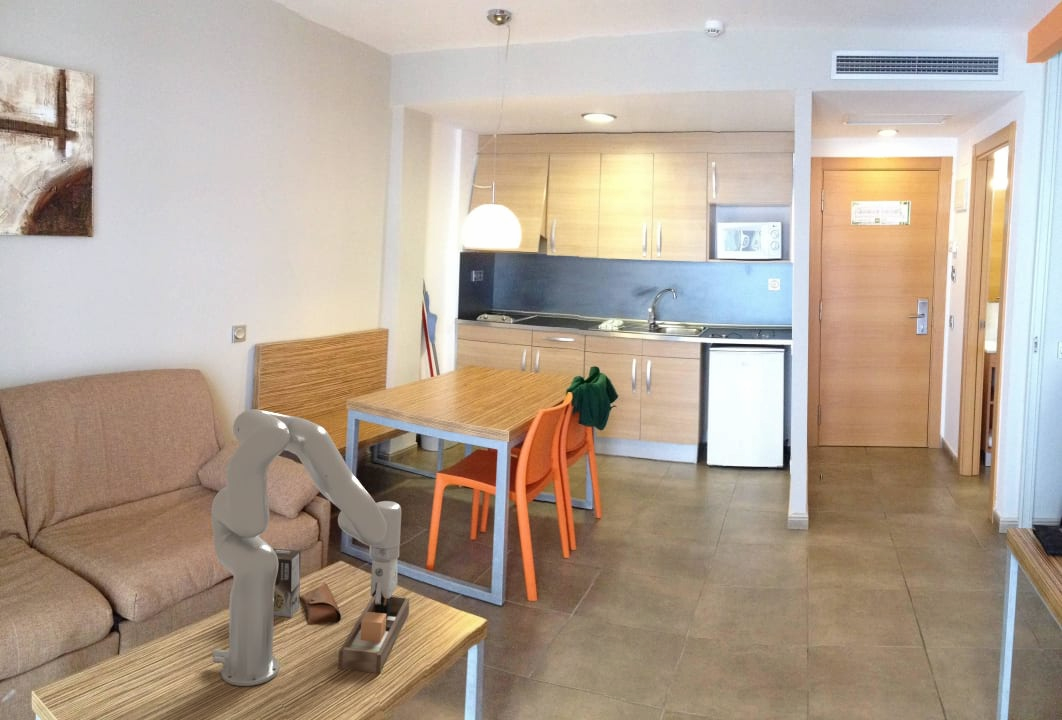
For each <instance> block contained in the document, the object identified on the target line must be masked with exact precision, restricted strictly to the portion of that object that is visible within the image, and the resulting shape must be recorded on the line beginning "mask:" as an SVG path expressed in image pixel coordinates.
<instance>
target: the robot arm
mask: <svg viewBox="0 0 1062 720" xmlns="http://www.w3.org/2000/svg"><path fill="white" fill-rule="evenodd" d="M232 426H233V427H232V431H233V435H234V436H235V439H236V440H237V441H238V442H239V443H240V445H239V446H238V447H237V449H236V450H235V451H234V453H233V454H232V456H231V457H230V459H229V460H228V464H227V466H226V472H225V483H226V485H225V487H223V488H222V489H220V490H219V491H218V492H217V494H216V495H215V497H214V498H213V501H212V505H211V511H210V512H211V525H212V535H213V536H212V537H213V546H214V552H215V555H216V558H217V560H218V562H219V563H220V564H221V565H222V566H223V567H224V568H225V569H227V571H228V572H229V573H231V574H232V576H233V582H232V587H231V591H230V596H229V607H228V608H229V609H228V610H229V619H228V620H229V622H228V623H229V624H228V625H229V628H228V629H229V630H228V631H229V633H228V649H227V650H226V649H225V650H224V649H219V648H215V649H214V650H213V651H212V658H213V659H212V663H215V664H222V665H223V666H222V668H221V674H220V675H221V678H222V679H223V681H225V682H226V683H227V684H230V685H233V686H239V687H251V686H256V685H261V684H264V683H266V682H269V681H271V680H272V679H273V678H274V677H276V676H277V675H278V673H279V671H280V662H279V660H278V659H277V657H275V656H274V650H273V649H274V621H275V620H274V619H275V618H274V616H275V615H274V589H275V582H276V577H277V572H278V557H277V555H276V553H275V551H274V550H273V549H274V548H273V547H272V546H271V545H270V544H269V543H267V542H266V541H265V540H263V539H262V538H261V537H260V536H261V535H263V534H264V533H265V531H266V530H267V529H268V526H269V524H270V506H269V505H270V504H269V494H268V471H269V469H270V466H271V465H272V463H273V462H274V461H275V460H276V459H277V457H279V455H281V454H282V453H283V452H284V451H286V452H287V451H288V452H290V453H291V454H294V455H296V456H297V458H298V459H299V460H300V462H301V463H302V465H303V467H304V468H305V470H306V471H307V474H308V475H309V477H310V478H311V480H312V481H313V483H314V485H315V487H316V488H317V489H318V491H319V492H320V493H321V494H322V495H323V496H324V498H326V500H328V501H329V502H331V504H333V505H334V506H335V507H337V508H338V509H339V510H340V512H339V514H338V516H337V523H338V527H339V528H340V529H341V530H342V531H343V533H345V534H347V535H349V536H350V537H352V538H354V539H355V540H357V541H358V542H360V543H361V544H364V545H366V546H369V558H370V559H371V560H372V565H371V576H370V577H371V579H370V596H371V598H372V597H374V596H375V613H385V614H386V619H387V617H388V615H389V598H390V597H391V595H393V593H394V592H395V590H396V588H397V586H398V558H399V557H400V547H401V546H400V545H401V526H402V507H401V505H400V504H399V503H397V502H395V501H391V500H383V501H378V502H376V501H375V500H374V498H373V497H372V496H371V494H370V493H369V492H368V491H367V490H366V489H365V486H363V485H362V483H361V482H360V480H359V479H358V478H357V477H356V476H355V475H354V474H353V472H352V471H351V469H350V468H349V466H348V465H347V463H346V462H345V460H344V457H343V455H342V454H341V453H340V451H339V450H338V448H337V445H336V444H335V443H334V440H333V439H332V438H331V436H330V434H329V433H328V431H327V429H325V428H324V427H323V426H321V425H319V424H317V423H315V422H312V421H310V420H308V419H306V418H302V417H298V416H293V415H286V414H281V413H276V412H273V411H267V410H263V409H257V408H256V409H254V408H253V409H247V410H244V411H242V412H241V413H239V415H237V417H236V418H235V419H234V422H233V425H232Z"/></svg>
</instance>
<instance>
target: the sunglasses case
mask: <svg viewBox="0 0 1062 720" xmlns="http://www.w3.org/2000/svg"><path fill="white" fill-rule="evenodd" d="M300 600H301V601H300V602H302V604H303V606H304V609H305V612H306V616H307V619H308V620H307V621H308V625H310V626H315V625H321V624H330V623H335V622H340V621H341V619H342V615H341V612H340V610H339V607H338V604H337V602H336V600H335V598H334V595H333V592H332V591H331V589H330V587H329V586H328V584H327V583H326V582H323V583H322V585H320V586H318V587H316V588H314V589H313V590H311V591H308V592H307V593H305V594H303V595H300Z"/></svg>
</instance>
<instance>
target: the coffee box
mask: <svg viewBox="0 0 1062 720" xmlns="http://www.w3.org/2000/svg"><path fill="white" fill-rule="evenodd" d="M273 550H274V551H275V553H276V555H277V557H278V572H277V577H276V582H275V589H274V616H277V617H287V618H292V617H293V616H294V615H295V613H296V612H298V610H299V609H300V608H301V606H300V602H301V601H300V600H301V599H300V596H301V594H300V593H301V558H302V557H301V553H302V552H301V550H294V549H293V550H291V549H283V548H282V549H281V548H273Z"/></svg>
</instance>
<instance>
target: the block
mask: <svg viewBox="0 0 1062 720" xmlns="http://www.w3.org/2000/svg"><path fill="white" fill-rule="evenodd" d="M385 633H386V614H385V613H375V612H366V614H365V616H364V617H363V619H362V621H361V640H365V641H375V642H381V640H382V638H383V636H384V635H385Z"/></svg>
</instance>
